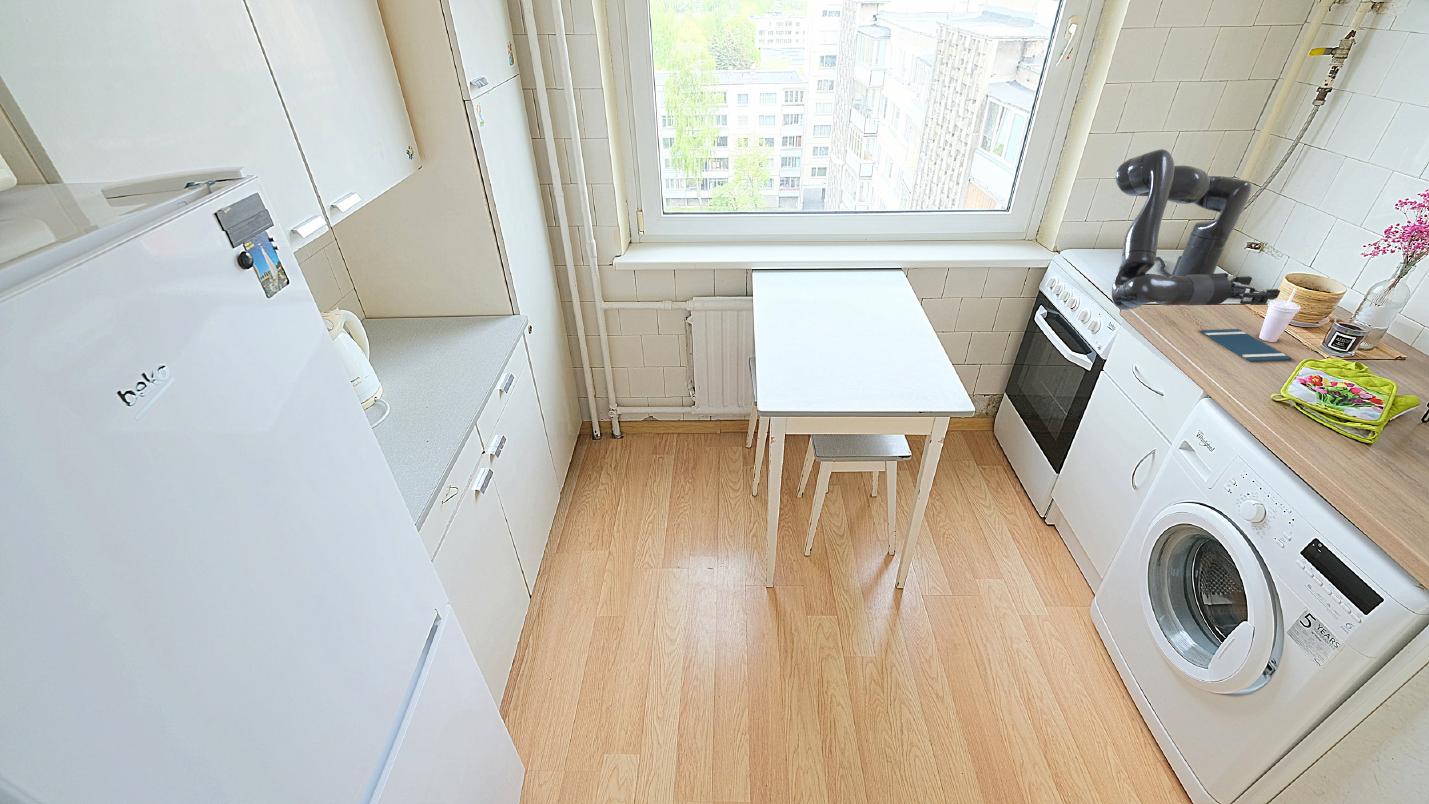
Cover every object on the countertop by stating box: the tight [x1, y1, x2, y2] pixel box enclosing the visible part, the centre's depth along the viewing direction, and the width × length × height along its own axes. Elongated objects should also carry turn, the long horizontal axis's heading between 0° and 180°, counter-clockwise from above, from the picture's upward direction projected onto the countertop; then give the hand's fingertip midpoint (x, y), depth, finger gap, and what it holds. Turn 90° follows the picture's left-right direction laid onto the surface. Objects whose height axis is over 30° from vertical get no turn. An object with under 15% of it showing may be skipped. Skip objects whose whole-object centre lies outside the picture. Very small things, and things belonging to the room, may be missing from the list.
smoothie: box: [1258, 287, 1301, 343], centre depth 162 cm, size 6×6×14 cm
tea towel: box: [1200, 328, 1293, 362], centre depth 162 cm, size 17×10×1 cm, turn 4°
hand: (1263, 287), depth 155 cm, fingers open, 8 cm apart
